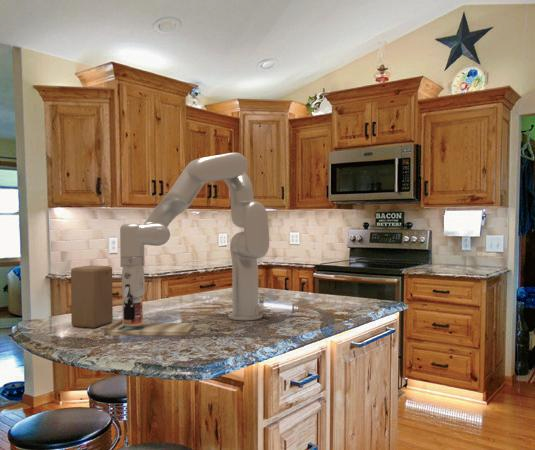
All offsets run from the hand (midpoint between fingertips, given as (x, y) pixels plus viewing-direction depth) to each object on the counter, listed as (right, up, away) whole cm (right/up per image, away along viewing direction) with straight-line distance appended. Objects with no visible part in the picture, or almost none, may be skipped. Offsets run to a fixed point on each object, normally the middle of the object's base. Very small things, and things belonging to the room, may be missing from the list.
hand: (133, 316), depth 148 cm
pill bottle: (0, -3, 0) cm, 3 cm away
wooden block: (-17, -5, +9) cm, 20 cm away
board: (+6, -5, 0) cm, 7 cm away
